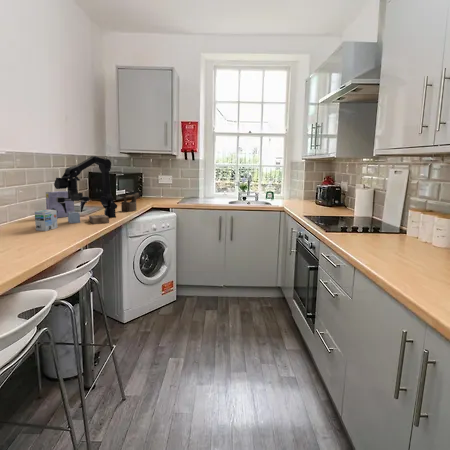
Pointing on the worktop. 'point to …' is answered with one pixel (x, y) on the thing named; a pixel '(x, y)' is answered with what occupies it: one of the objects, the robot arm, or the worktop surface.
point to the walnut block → (99, 219)
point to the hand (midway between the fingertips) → (73, 212)
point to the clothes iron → (129, 203)
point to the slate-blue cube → (74, 217)
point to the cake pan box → (54, 205)
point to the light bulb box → (46, 220)
